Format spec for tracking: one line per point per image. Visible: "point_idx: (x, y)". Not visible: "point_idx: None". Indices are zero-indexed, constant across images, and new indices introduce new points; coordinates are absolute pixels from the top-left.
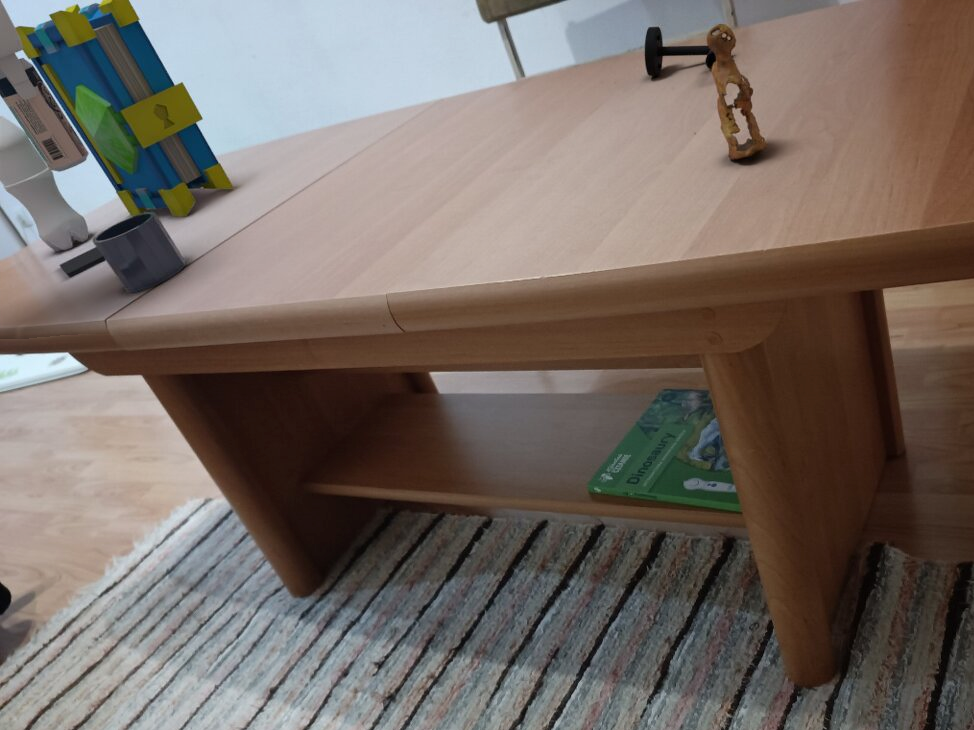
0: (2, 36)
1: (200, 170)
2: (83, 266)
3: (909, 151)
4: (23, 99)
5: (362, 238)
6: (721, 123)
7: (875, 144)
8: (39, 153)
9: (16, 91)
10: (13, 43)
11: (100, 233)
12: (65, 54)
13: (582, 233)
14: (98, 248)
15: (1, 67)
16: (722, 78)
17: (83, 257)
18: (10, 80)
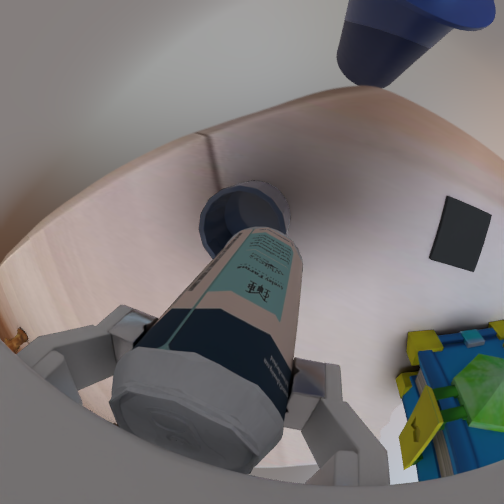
0: None
1: (413, 385)
2: (443, 215)
3: (5, 323)
4: (124, 305)
5: (87, 291)
6: (16, 337)
7: (11, 329)
8: (261, 237)
9: (117, 319)
10: None
11: (274, 209)
12: None
13: (17, 288)
14: (241, 184)
15: (33, 344)
16: (5, 342)
17: (470, 233)
18: (76, 330)
